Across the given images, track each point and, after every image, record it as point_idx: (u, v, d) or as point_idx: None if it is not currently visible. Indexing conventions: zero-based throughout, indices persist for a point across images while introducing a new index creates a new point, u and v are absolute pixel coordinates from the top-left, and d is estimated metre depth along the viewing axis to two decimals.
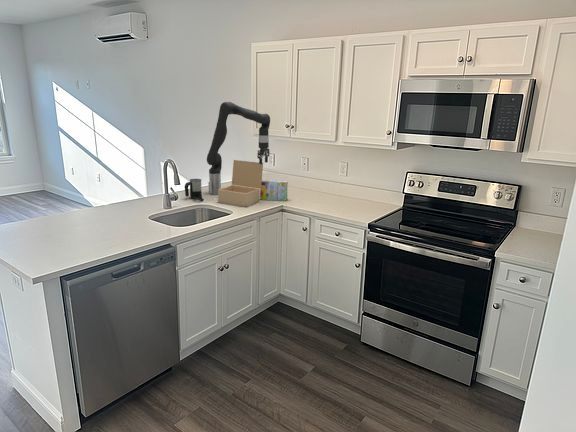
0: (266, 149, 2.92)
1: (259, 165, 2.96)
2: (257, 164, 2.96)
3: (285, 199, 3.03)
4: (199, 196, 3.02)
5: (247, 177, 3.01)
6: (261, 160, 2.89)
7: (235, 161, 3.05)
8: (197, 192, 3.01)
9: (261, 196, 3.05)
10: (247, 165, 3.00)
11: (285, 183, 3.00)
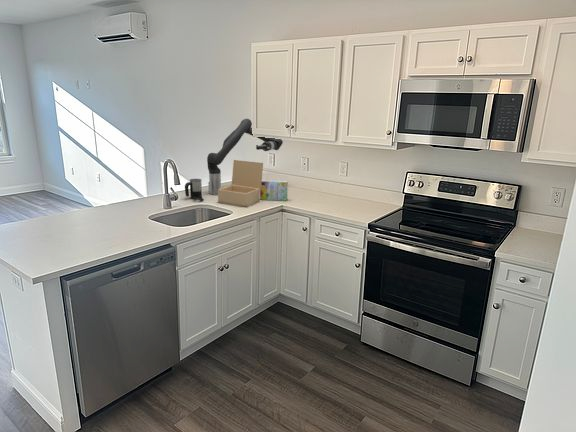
0: None
1: (259, 165, 2.96)
2: (257, 164, 2.96)
3: (285, 199, 3.03)
4: (199, 196, 3.02)
5: (247, 177, 3.01)
6: (259, 149, 3.12)
7: (235, 161, 3.05)
8: (197, 192, 3.00)
9: (261, 196, 3.05)
10: (247, 165, 3.00)
11: (285, 183, 3.00)
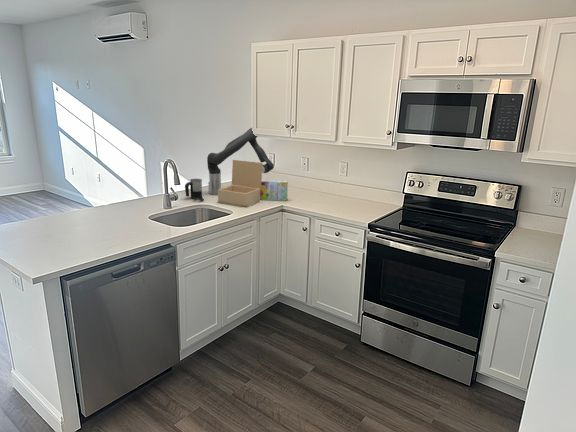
0: None
1: (258, 165, 2.95)
2: (256, 164, 2.95)
3: (285, 199, 3.03)
4: (199, 196, 3.02)
5: (247, 177, 3.01)
6: None
7: (234, 161, 3.04)
8: (197, 192, 3.00)
9: (261, 196, 3.05)
10: (247, 165, 2.99)
11: (285, 183, 3.00)
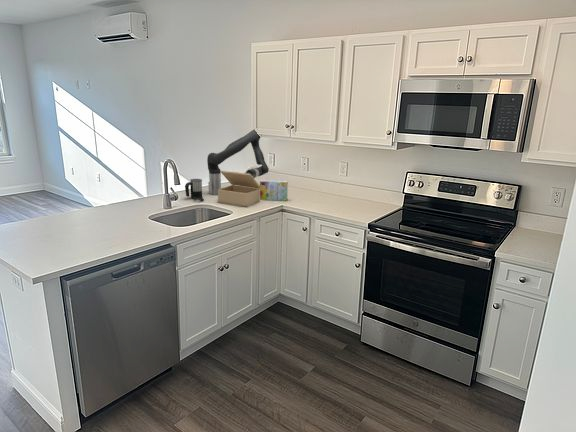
0: None
1: (248, 176, 2.83)
2: (245, 175, 2.84)
3: (285, 199, 3.03)
4: (199, 196, 3.02)
5: (242, 181, 2.96)
6: None
7: (222, 172, 2.91)
8: (197, 192, 3.00)
9: (261, 196, 3.05)
10: (236, 175, 2.88)
11: (285, 183, 3.00)
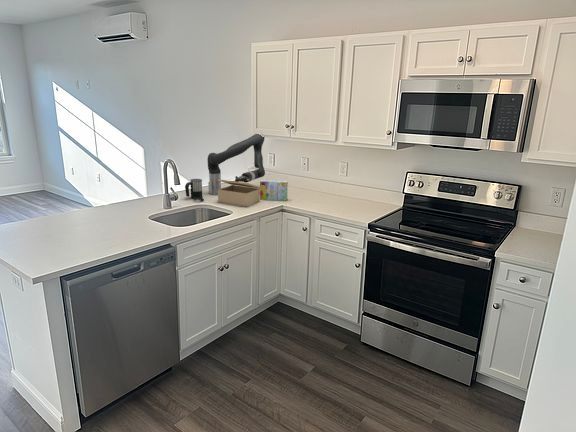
0: None
1: (246, 184, 2.82)
2: (243, 184, 2.82)
3: (285, 199, 3.03)
4: (200, 196, 3.02)
5: (241, 185, 2.95)
6: (238, 181, 2.91)
7: None
8: (198, 192, 3.00)
9: (261, 196, 3.05)
10: (234, 183, 2.87)
11: (285, 183, 3.00)
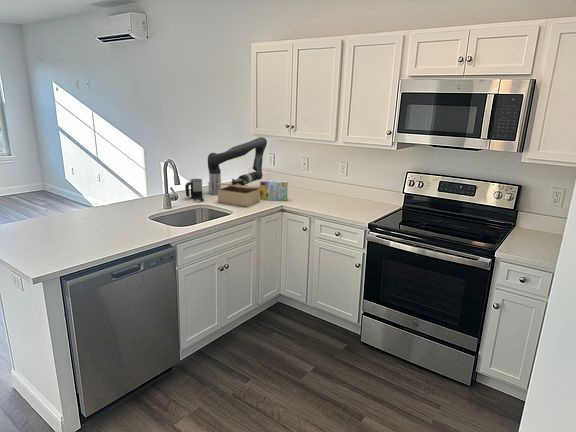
0: None
1: (245, 187, 2.82)
2: (243, 187, 2.83)
3: (285, 199, 3.03)
4: (200, 196, 3.02)
5: None
6: (235, 183, 2.88)
7: (219, 184, 2.90)
8: (198, 192, 3.00)
9: (261, 196, 3.05)
10: None
11: (285, 183, 3.00)
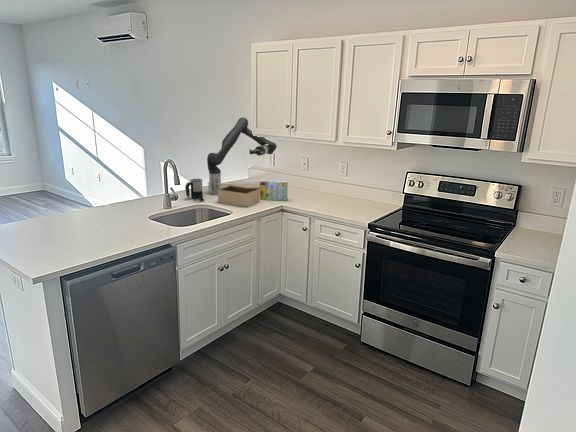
0: None
1: (245, 187, 2.82)
2: (243, 187, 2.83)
3: (285, 199, 3.03)
4: (200, 196, 3.02)
5: None
6: (253, 153, 3.07)
7: (219, 184, 2.90)
8: (198, 192, 3.00)
9: (261, 196, 3.05)
10: None
11: (285, 183, 3.00)
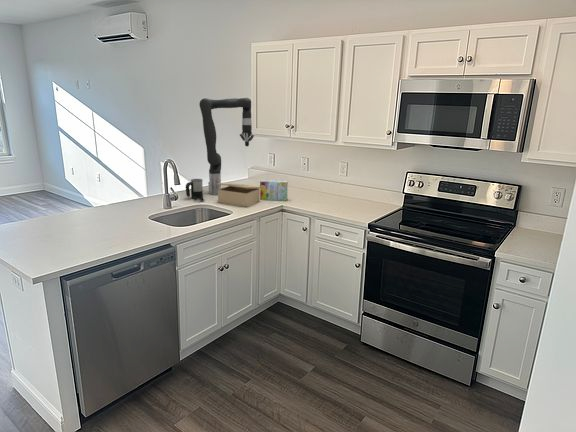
0: None
1: (245, 187, 2.82)
2: (243, 187, 2.83)
3: (285, 199, 3.03)
4: (200, 196, 3.02)
5: None
6: None
7: (219, 184, 2.90)
8: (198, 192, 3.00)
9: (261, 196, 3.05)
10: None
11: (285, 183, 3.00)
